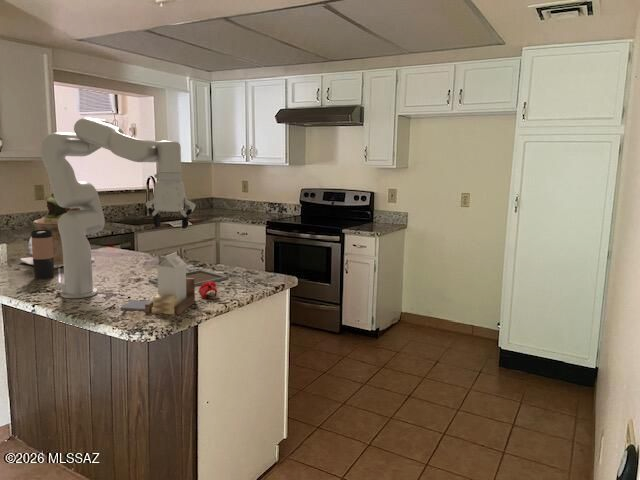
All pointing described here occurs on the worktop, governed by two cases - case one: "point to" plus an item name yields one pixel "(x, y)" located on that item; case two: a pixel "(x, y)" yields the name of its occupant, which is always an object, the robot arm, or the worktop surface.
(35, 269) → the travel mug
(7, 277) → the worktop surface
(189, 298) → the rack
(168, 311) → the offcut low
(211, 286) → the red rounded piece
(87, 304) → the worktop surface
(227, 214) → the worktop surface
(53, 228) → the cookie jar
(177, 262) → the milk carton
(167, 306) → the offcut mid
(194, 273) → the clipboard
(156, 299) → the offcut top
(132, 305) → the pad
